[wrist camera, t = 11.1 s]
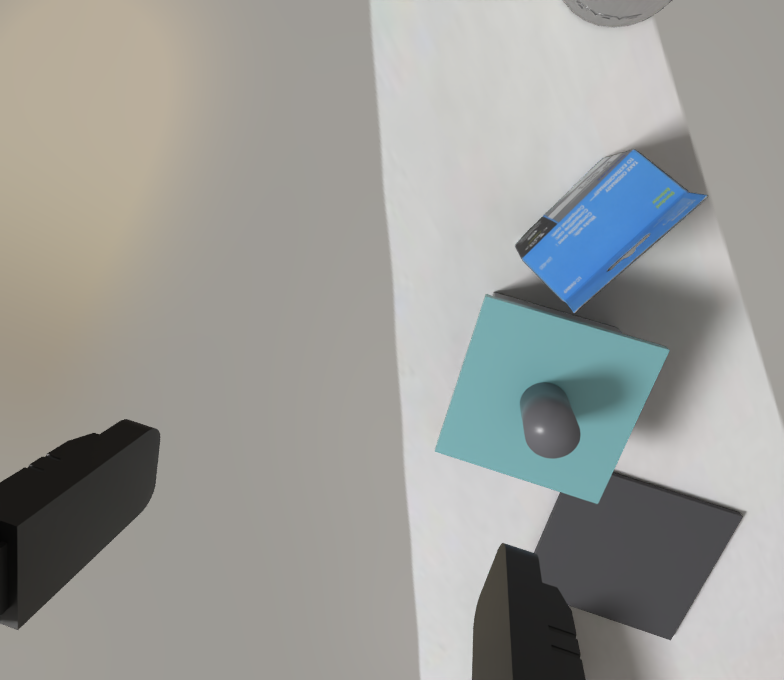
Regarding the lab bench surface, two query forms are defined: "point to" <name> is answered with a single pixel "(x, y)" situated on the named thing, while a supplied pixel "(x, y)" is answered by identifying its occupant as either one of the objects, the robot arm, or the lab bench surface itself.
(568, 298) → the label tape cartridge
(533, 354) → the lid
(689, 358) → the lab bench surface
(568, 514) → the mat
